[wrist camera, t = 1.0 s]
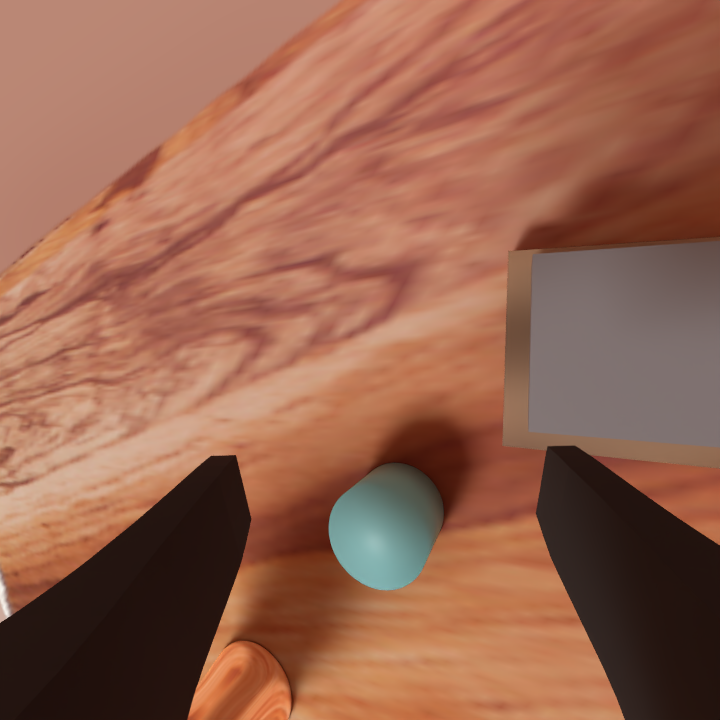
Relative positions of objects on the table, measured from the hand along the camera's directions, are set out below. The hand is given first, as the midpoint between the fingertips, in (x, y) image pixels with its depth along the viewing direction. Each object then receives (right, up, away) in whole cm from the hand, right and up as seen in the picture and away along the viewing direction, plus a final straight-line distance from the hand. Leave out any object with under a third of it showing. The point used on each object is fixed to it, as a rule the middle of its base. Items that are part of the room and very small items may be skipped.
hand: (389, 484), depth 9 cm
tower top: (+10, +4, +7) cm, 13 cm away
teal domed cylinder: (+2, -5, +13) cm, 14 cm away
